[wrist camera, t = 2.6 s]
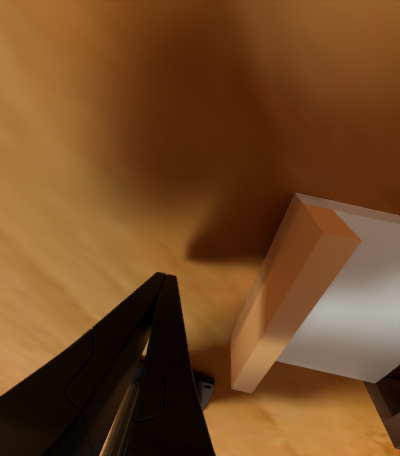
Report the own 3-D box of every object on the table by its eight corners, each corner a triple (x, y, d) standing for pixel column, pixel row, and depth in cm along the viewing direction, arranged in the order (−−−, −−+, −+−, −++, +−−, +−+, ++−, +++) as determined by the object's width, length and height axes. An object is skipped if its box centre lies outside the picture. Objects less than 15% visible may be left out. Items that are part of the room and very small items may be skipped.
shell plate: (363, 360, 13) (396, 426, 10) (230, 330, 13) (231, 388, 10) (504, 236, 8) (634, 301, 5) (293, 190, 8) (323, 232, 5)
